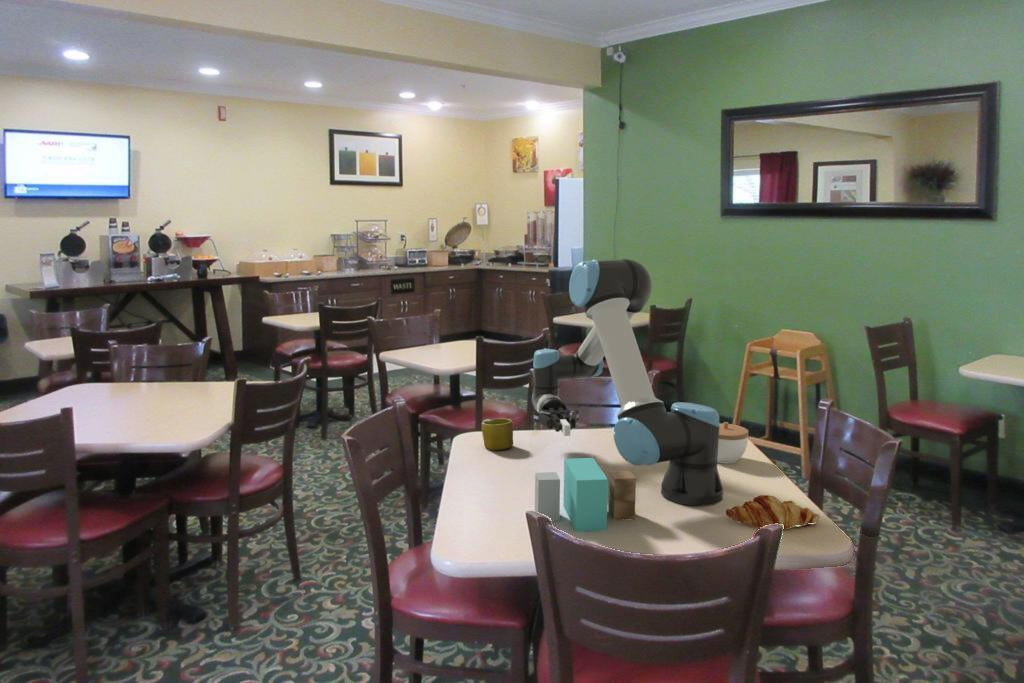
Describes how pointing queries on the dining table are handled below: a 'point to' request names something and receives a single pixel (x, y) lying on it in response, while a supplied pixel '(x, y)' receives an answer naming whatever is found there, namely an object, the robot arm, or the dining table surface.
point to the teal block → (585, 494)
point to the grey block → (547, 494)
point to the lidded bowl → (731, 443)
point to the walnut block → (622, 495)
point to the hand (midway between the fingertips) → (567, 430)
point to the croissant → (771, 513)
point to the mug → (497, 433)
